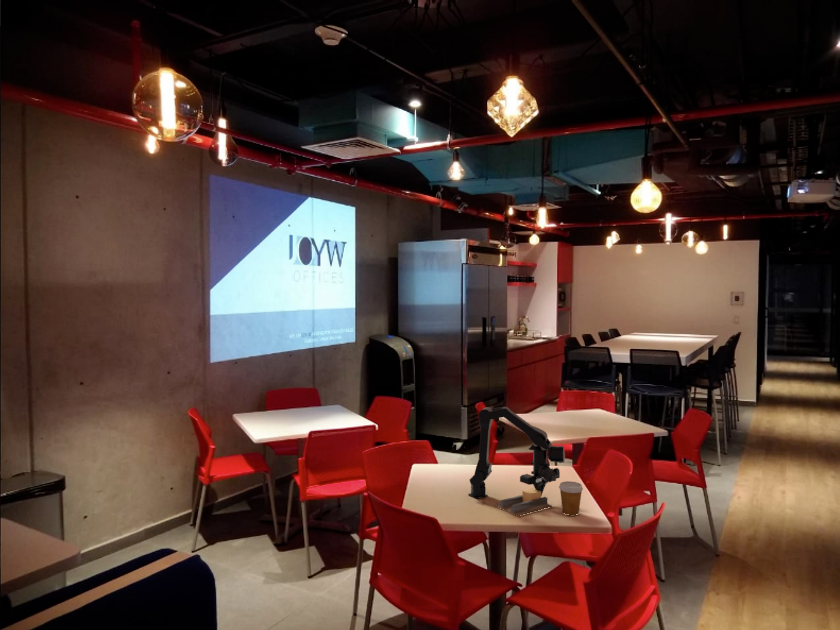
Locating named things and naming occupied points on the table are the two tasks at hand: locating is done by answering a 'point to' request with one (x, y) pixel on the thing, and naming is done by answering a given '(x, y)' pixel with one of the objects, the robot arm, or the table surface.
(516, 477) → the table surface
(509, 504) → the chute
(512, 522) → the table surface
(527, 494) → the block
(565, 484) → the disposable coffee cup
